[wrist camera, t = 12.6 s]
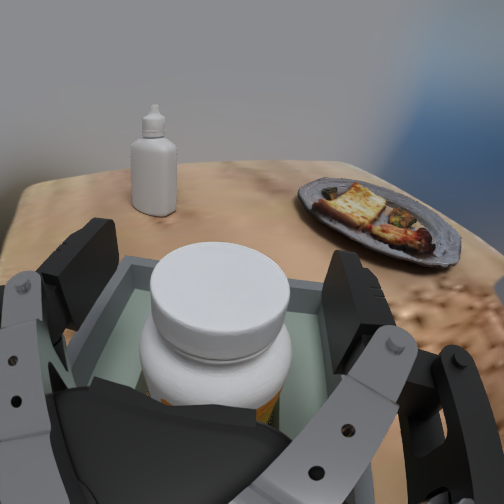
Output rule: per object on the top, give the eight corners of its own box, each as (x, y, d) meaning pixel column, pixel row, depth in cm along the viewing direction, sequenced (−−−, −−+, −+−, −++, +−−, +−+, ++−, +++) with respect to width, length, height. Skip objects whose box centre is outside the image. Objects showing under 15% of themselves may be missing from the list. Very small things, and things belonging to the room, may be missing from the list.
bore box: (336, 524, 9) (375, 514, 6) (57, 476, 8) (17, 449, 6) (319, 327, 20) (336, 284, 18) (132, 300, 20) (125, 255, 18)
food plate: (447, 308, 23) (464, 278, 21) (260, 214, 35) (265, 186, 33) (457, 235, 41) (465, 217, 39) (343, 184, 52) (347, 166, 51)
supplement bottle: (283, 426, 14) (351, 292, 8) (203, 485, 10) (199, 399, 5) (218, 364, 17) (233, 216, 11) (141, 407, 13) (98, 259, 8)
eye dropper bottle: (163, 197, 36) (166, 102, 29) (179, 215, 32) (184, 106, 26) (130, 203, 33) (128, 104, 27) (142, 222, 30) (141, 108, 23)
